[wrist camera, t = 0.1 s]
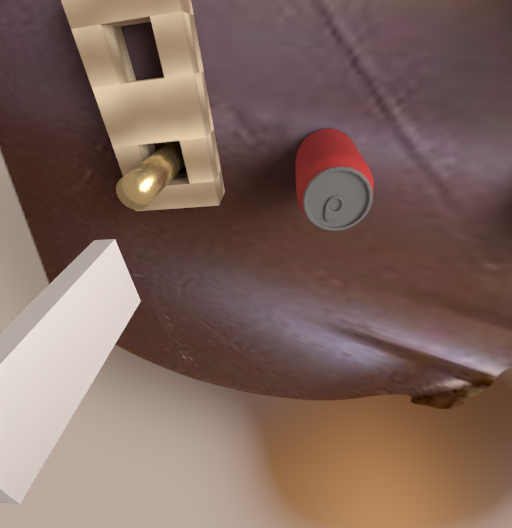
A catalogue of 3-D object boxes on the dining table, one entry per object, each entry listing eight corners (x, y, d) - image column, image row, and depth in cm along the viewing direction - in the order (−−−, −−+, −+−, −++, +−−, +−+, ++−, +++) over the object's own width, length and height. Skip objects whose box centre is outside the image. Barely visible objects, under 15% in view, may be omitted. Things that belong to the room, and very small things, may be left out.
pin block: (82, -6, 29) (56, -13, 26) (186, -25, 28) (172, -34, 25) (148, 197, 40) (135, 211, 37) (225, 191, 39) (218, 205, 36)
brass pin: (159, 142, 36) (110, 177, 27) (185, 139, 36) (144, 175, 26) (167, 168, 38) (123, 210, 28) (191, 165, 38) (155, 208, 28)
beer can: (287, 176, 37) (285, 223, 27) (308, 118, 34) (314, 148, 24) (339, 193, 38) (356, 246, 28) (366, 138, 34) (395, 176, 24)
